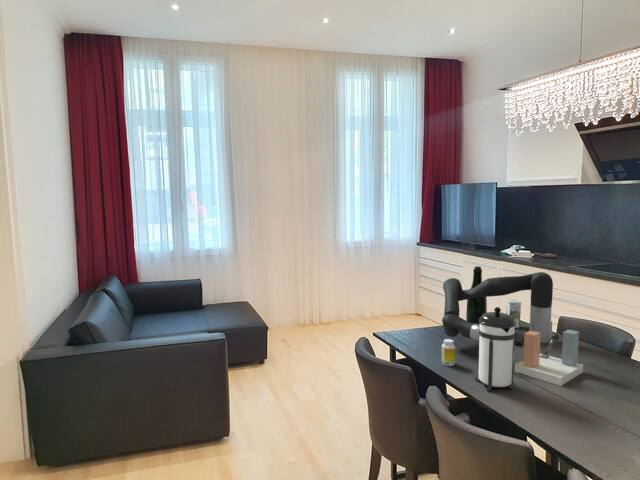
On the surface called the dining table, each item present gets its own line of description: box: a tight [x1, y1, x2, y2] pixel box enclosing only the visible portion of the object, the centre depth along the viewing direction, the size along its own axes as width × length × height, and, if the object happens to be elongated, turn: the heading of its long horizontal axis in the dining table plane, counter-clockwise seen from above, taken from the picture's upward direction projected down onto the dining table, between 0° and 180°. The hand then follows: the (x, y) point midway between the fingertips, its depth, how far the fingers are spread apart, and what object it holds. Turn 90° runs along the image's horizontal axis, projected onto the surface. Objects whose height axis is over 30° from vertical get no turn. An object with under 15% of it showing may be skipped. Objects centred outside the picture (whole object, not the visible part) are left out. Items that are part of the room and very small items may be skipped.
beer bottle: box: [465, 265, 488, 324], centre depth 241 cm, size 10×10×33 cm
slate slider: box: [561, 329, 580, 366], centre depth 181 cm, size 4×5×13 cm
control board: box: [514, 353, 584, 387], centre depth 182 cm, size 18×20×4 cm
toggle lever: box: [543, 333, 560, 355], centre depth 187 cm, size 3×3×10 cm
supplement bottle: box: [440, 338, 456, 367], centre depth 191 cm, size 6×6×10 cm
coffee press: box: [474, 306, 517, 392], centre depth 170 cm, size 17×16×30 cm
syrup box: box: [505, 299, 522, 329], centre depth 242 cm, size 6×6×14 cm
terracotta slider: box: [523, 331, 541, 368], centre depth 180 cm, size 4×5×13 cm
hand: (522, 344), depth 183 cm, fingers closed
